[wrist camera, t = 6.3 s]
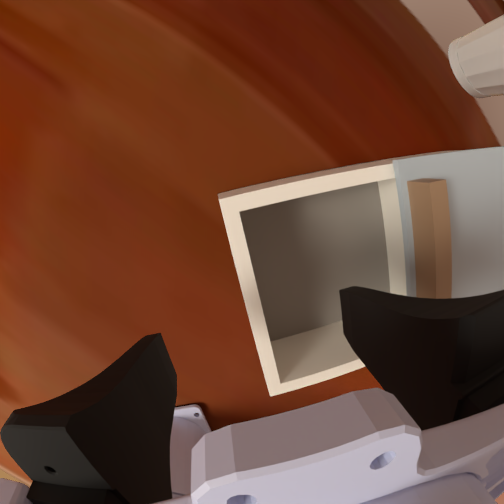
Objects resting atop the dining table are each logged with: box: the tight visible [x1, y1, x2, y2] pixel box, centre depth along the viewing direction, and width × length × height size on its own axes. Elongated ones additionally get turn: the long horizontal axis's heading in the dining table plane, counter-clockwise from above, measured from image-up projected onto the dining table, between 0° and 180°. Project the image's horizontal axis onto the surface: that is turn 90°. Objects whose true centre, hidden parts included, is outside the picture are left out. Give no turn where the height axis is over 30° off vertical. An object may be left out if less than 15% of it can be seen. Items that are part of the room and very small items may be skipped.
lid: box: [392, 146, 504, 299], centre depth 16 cm, size 12×12×2 cm
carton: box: [218, 150, 462, 396], centre depth 20 cm, size 12×19×6 cm, turn 103°
